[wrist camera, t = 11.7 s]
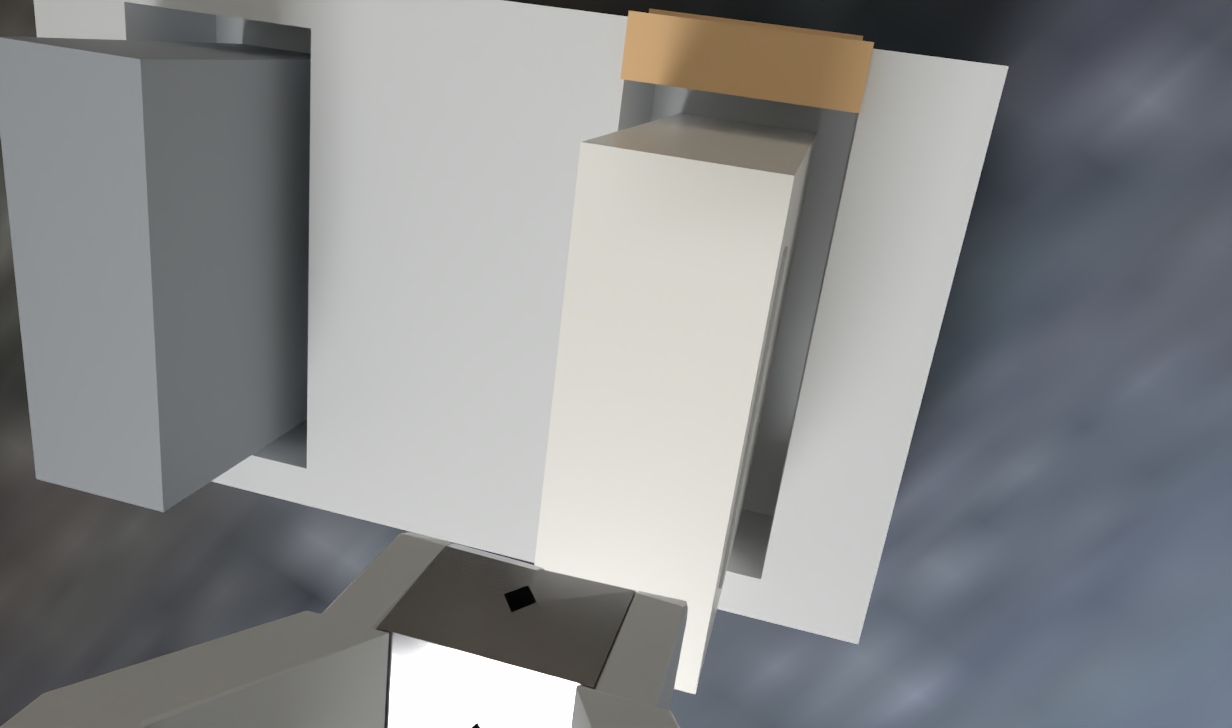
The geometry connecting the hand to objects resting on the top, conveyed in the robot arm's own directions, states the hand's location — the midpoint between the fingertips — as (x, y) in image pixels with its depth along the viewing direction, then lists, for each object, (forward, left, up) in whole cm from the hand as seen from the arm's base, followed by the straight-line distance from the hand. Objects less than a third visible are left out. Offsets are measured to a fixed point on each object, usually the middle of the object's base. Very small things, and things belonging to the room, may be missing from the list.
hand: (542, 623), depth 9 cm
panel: (0, 0, -13) cm, 13 cm away
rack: (0, +6, -14) cm, 15 cm away
